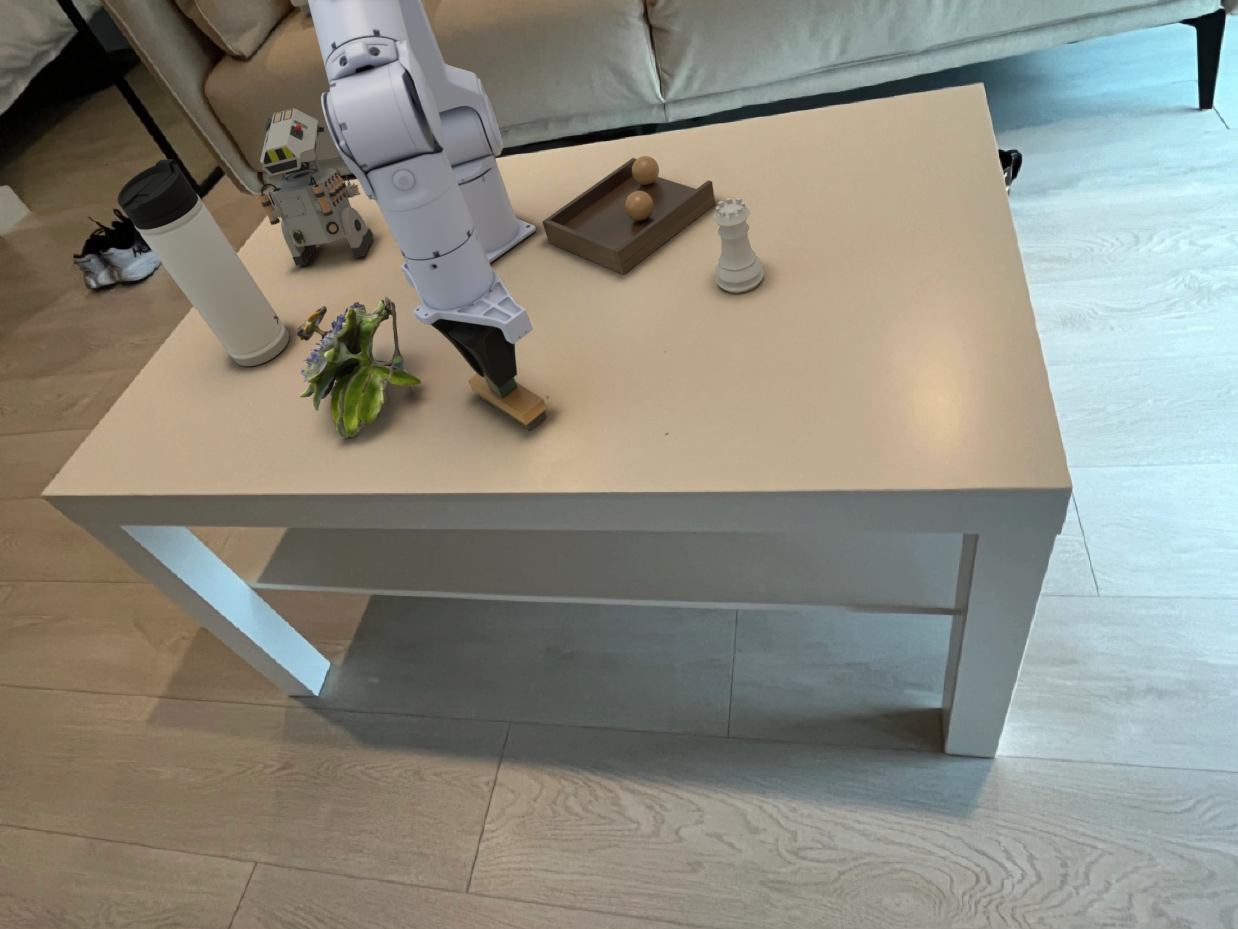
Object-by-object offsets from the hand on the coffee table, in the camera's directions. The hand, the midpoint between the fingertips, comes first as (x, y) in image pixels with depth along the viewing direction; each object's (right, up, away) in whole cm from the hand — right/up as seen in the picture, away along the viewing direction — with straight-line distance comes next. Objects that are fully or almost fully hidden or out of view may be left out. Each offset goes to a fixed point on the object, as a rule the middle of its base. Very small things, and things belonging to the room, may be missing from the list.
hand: (497, 374), depth 69 cm
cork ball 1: (+13, +25, +20) cm, 34 cm away
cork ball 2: (+12, +19, +15) cm, 28 cm away
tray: (+12, +18, +19) cm, 28 cm away
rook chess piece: (+22, +10, +8) cm, 25 cm away
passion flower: (-12, -1, +8) cm, 15 cm away
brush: (+1, -3, +3) cm, 4 cm away
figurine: (-23, +19, +30) cm, 43 cm away
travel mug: (-28, +5, +18) cm, 34 cm away
